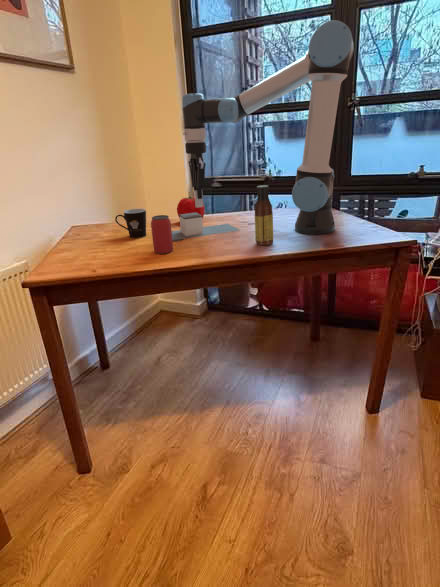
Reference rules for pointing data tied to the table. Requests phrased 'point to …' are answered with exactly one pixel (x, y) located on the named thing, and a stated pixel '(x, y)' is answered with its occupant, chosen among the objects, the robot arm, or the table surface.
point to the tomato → (189, 207)
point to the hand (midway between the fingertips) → (199, 206)
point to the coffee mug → (135, 222)
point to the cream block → (191, 224)
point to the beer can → (162, 234)
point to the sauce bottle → (263, 217)
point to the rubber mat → (205, 231)
